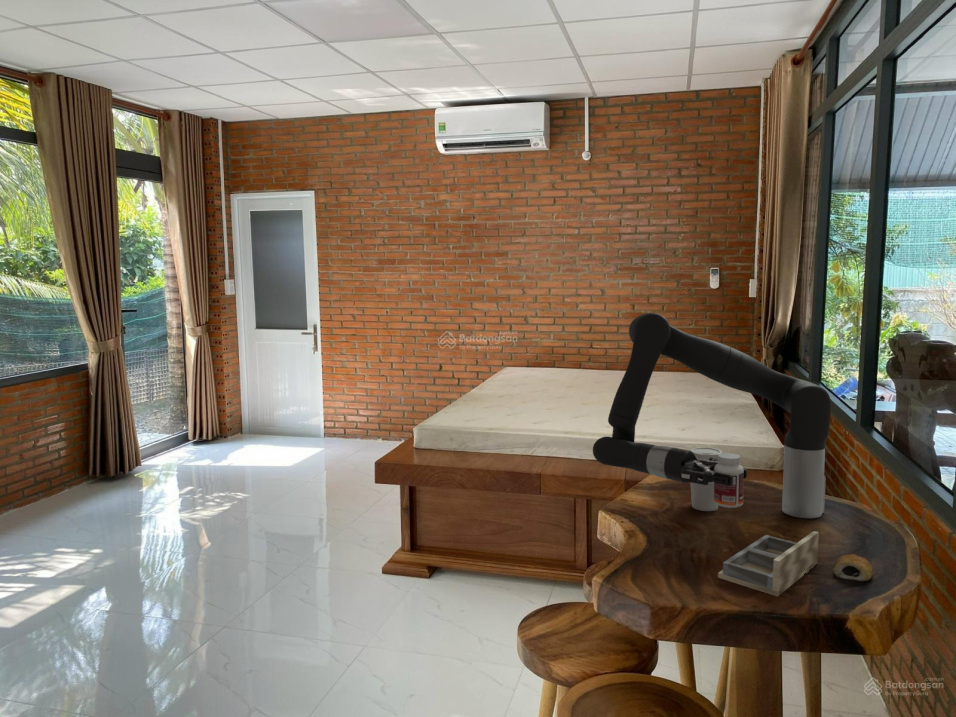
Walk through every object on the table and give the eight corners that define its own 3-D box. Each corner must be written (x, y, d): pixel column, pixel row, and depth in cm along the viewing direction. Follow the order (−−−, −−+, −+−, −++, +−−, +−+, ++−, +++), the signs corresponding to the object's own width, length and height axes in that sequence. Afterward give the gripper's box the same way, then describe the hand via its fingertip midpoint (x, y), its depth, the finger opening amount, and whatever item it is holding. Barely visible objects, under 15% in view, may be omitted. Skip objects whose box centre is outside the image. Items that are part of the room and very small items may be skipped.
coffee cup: (679, 508, 183) (680, 451, 181) (695, 498, 190) (696, 444, 189) (715, 516, 177) (717, 457, 175) (730, 505, 184) (731, 449, 182)
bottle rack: (760, 548, 156) (761, 518, 155) (817, 564, 148) (818, 532, 147) (717, 577, 142) (718, 544, 142) (777, 596, 134) (778, 561, 133)
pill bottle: (730, 497, 161) (731, 450, 159) (749, 506, 155) (750, 457, 153) (707, 501, 158) (708, 453, 157) (726, 510, 153) (727, 460, 151)
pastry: (839, 561, 150) (840, 544, 149) (875, 568, 146) (877, 551, 145) (832, 577, 142) (833, 559, 142) (870, 585, 138) (871, 567, 138)
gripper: (654, 454, 160) (724, 468, 149) (686, 441, 170) (754, 453, 158) (654, 486, 161) (723, 502, 150) (686, 471, 171) (753, 486, 160)
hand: (739, 477), depth 154 cm, fingers closed on pill bottle, 6 cm apart
